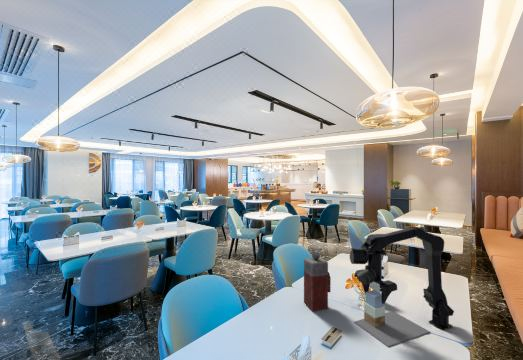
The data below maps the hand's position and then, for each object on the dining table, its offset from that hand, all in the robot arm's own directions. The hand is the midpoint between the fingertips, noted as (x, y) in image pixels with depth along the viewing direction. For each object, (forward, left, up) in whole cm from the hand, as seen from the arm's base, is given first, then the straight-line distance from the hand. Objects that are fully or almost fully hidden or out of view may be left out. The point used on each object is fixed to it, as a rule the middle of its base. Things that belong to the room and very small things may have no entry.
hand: (374, 299), depth 112 cm
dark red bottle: (+14, -23, -11) cm, 29 cm away
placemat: (-4, +5, -11) cm, 13 cm away
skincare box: (-16, -16, -11) cm, 25 cm away
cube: (0, 0, -2) cm, 2 cm away
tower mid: (0, 0, -6) cm, 6 cm away
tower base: (0, 0, -10) cm, 10 cm away
